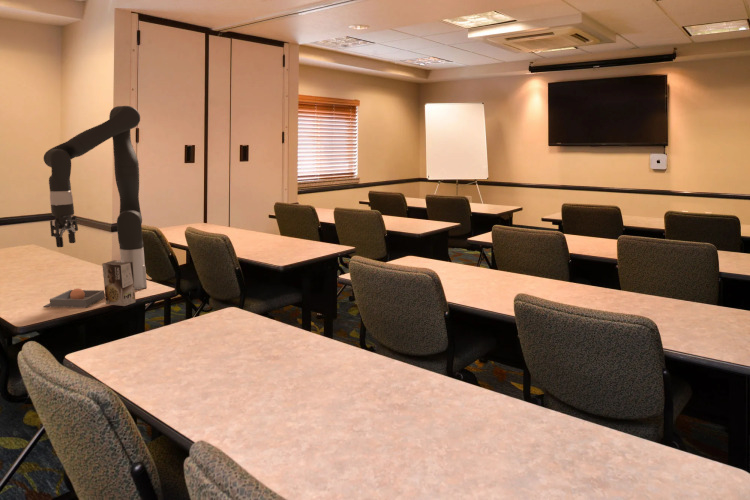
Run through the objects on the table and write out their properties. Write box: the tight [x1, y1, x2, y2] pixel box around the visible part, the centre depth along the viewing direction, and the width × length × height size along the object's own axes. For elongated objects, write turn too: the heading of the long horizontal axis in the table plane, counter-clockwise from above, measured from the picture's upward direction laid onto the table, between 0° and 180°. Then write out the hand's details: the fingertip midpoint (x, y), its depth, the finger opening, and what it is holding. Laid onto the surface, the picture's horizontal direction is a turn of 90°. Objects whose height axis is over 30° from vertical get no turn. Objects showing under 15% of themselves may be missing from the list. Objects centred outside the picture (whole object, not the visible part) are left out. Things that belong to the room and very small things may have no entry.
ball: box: [70, 287, 85, 299], centre depth 214 cm, size 5×5×5 cm
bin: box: [49, 289, 106, 309], centre depth 214 cm, size 14×14×3 cm
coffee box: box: [101, 259, 136, 307], centre depth 212 cm, size 9×6×16 cm
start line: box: [42, 302, 51, 308], centre depth 214 cm, size 2×14×1 cm, turn 179°
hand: (66, 245), depth 212 cm, fingers open, 8 cm apart
